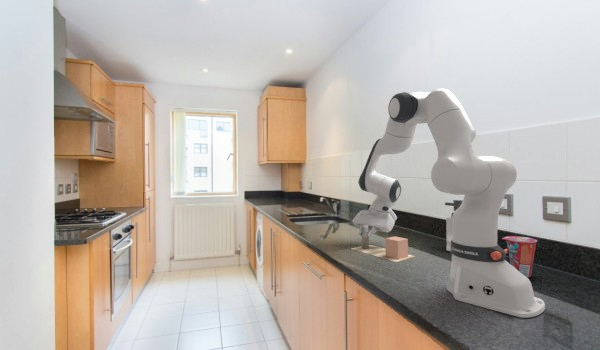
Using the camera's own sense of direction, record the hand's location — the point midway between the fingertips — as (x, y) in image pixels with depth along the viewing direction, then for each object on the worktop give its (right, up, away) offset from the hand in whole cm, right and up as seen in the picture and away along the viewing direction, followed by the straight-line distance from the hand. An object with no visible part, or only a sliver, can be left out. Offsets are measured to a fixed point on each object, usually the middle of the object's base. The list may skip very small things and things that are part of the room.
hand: (364, 235), depth 128 cm
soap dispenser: (+40, -7, 0) cm, 41 cm away
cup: (+45, -7, -31) cm, 55 cm away
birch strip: (+6, -7, -7) cm, 11 cm away
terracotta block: (+10, -5, -13) cm, 17 cm away
